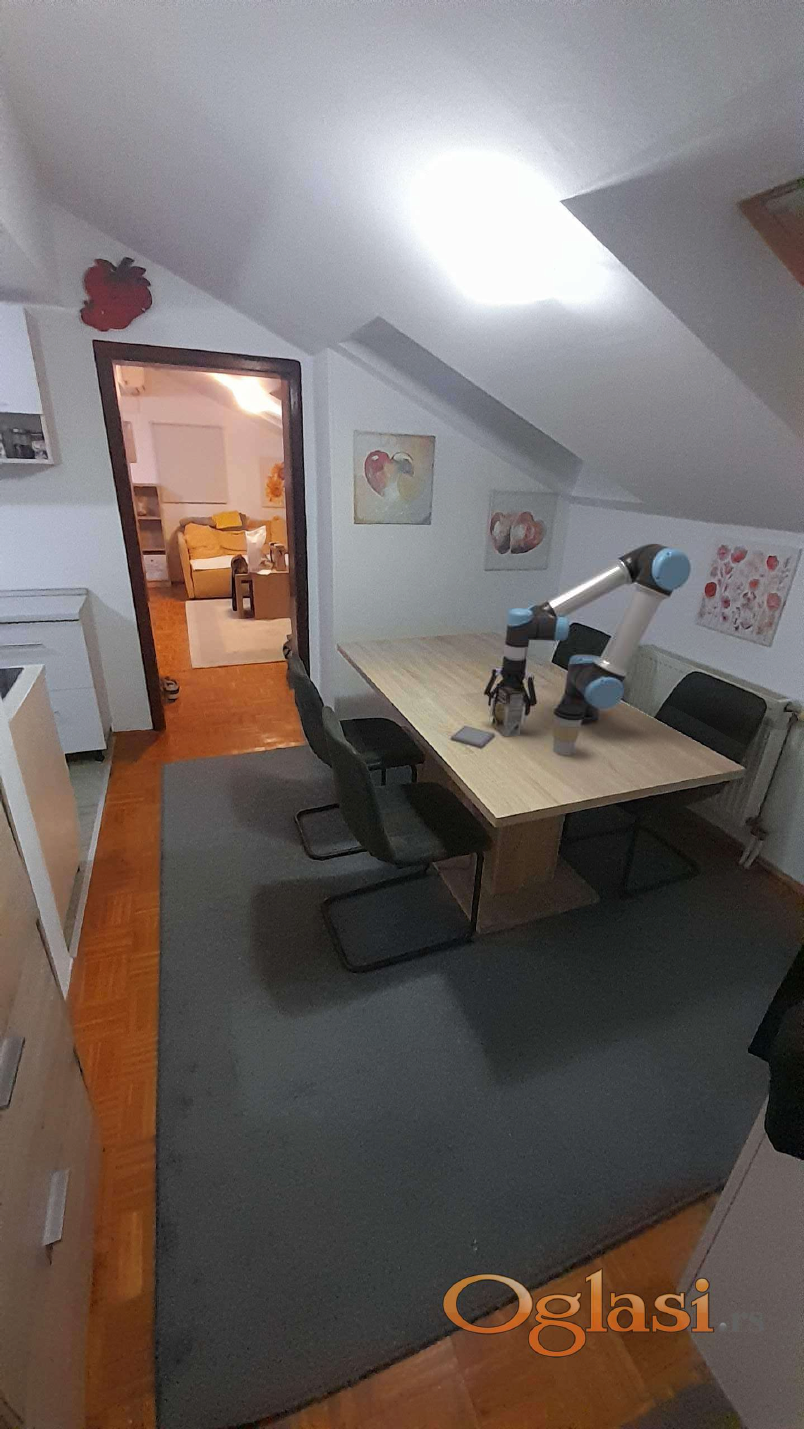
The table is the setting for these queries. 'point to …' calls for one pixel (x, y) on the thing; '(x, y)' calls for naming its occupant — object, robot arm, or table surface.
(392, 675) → the table surface
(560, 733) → the coffee cup
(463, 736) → the tray
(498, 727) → the coffee box
